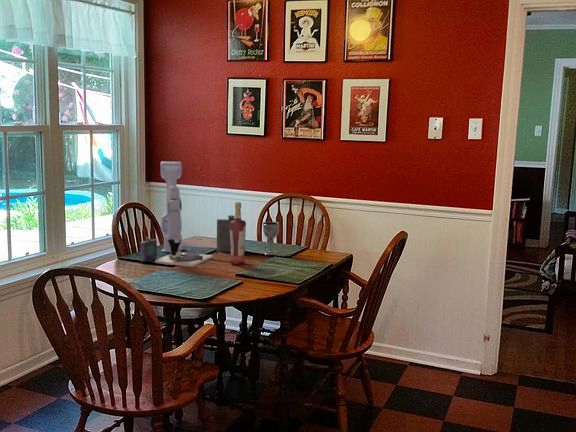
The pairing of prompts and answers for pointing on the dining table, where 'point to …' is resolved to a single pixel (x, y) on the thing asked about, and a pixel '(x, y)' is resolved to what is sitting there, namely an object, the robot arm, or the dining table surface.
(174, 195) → the robot arm
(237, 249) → the liquor
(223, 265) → the dining table surface
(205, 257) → the base board
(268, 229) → the wine glass
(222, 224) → the flask
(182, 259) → the flange plate
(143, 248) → the blue grey box
